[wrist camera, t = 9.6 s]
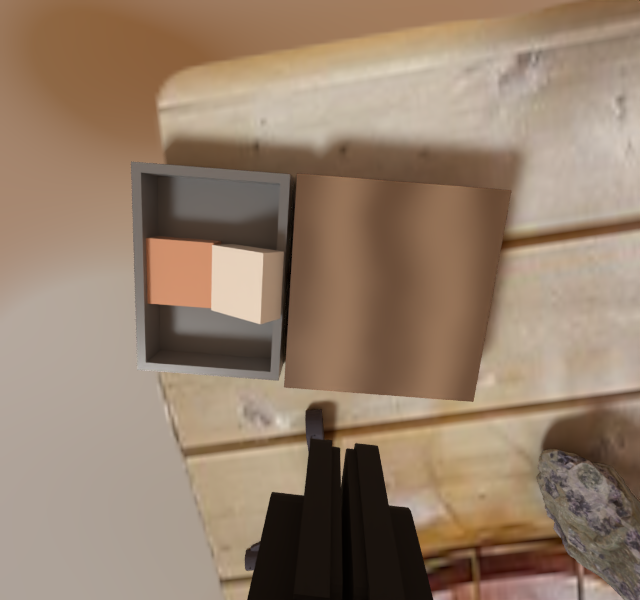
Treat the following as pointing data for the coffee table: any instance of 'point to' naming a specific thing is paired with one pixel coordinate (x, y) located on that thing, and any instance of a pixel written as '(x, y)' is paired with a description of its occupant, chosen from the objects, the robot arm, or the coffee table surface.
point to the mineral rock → (594, 517)
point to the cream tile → (247, 282)
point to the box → (230, 228)
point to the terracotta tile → (179, 271)
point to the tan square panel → (391, 285)
